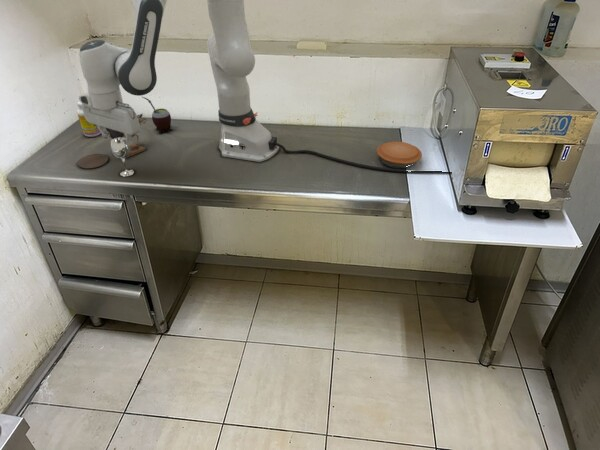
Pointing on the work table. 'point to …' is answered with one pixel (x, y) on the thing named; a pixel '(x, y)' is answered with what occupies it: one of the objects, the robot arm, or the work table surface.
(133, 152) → the stuffed bird
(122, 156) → the wineglass
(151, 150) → the work table surface
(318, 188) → the work table surface
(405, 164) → the pie
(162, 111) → the mate gourd
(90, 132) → the supplement bottle
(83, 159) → the coaster
